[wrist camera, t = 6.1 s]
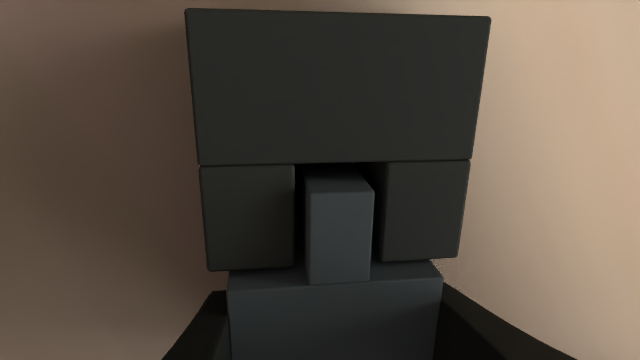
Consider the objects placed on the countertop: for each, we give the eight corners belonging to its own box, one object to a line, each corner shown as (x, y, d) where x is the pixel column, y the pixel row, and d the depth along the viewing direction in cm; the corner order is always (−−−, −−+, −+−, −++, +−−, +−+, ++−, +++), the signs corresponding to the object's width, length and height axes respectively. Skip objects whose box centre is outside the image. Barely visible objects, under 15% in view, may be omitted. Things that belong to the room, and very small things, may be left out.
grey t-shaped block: (392, 331, 13) (427, 407, 10) (241, 344, 12) (235, 429, 10) (408, 153, 11) (456, 188, 8) (230, 157, 11) (218, 197, 8)
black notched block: (414, 211, 12) (458, 258, 10) (220, 219, 12) (206, 273, 9) (432, 25, 11) (493, 16, 8) (206, 19, 10) (183, 7, 7)
